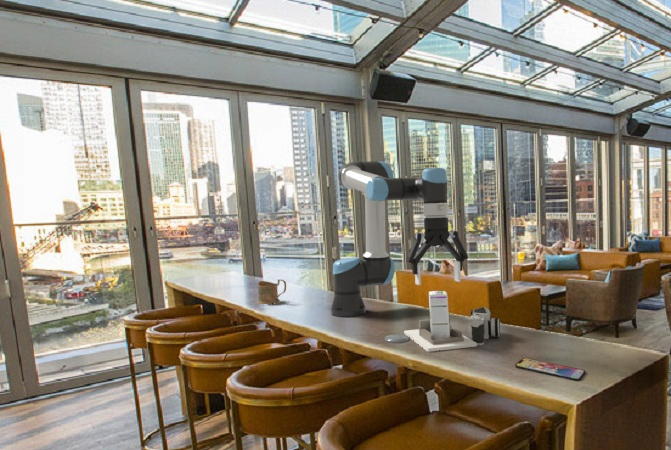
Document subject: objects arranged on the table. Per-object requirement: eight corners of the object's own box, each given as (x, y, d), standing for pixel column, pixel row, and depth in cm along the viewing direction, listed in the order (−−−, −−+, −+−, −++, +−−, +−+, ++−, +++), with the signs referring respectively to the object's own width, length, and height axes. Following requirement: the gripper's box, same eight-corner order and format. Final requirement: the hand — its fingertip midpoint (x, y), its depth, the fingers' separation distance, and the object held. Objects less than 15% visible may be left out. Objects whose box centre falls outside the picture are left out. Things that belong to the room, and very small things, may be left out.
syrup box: (450, 340, 127) (448, 294, 127) (431, 340, 128) (429, 294, 128) (448, 334, 132) (446, 290, 132) (430, 334, 133) (428, 290, 133)
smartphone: (579, 380, 96) (513, 365, 106) (579, 383, 96) (514, 368, 106) (586, 370, 101) (523, 357, 111) (586, 374, 101) (523, 360, 111)
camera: (499, 347, 122) (497, 314, 122) (469, 344, 126) (467, 312, 126) (500, 332, 137) (499, 303, 137) (473, 330, 140) (472, 302, 140)
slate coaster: (381, 338, 138) (381, 335, 138) (403, 335, 139) (403, 333, 139) (389, 345, 130) (389, 342, 130) (412, 342, 132) (412, 340, 132)
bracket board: (404, 333, 141) (403, 316, 140) (447, 329, 144) (446, 312, 143) (428, 351, 121) (427, 331, 121) (477, 346, 124) (476, 326, 124)
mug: (278, 306, 194) (277, 281, 193) (252, 303, 203) (250, 280, 203) (293, 301, 203) (292, 278, 203) (267, 299, 213) (266, 276, 213)
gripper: (403, 218, 123) (405, 287, 124) (477, 215, 128) (479, 281, 129) (394, 218, 131) (397, 283, 132) (465, 215, 135) (467, 278, 136)
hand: (438, 282), depth 130 cm, fingers open, 13 cm apart
